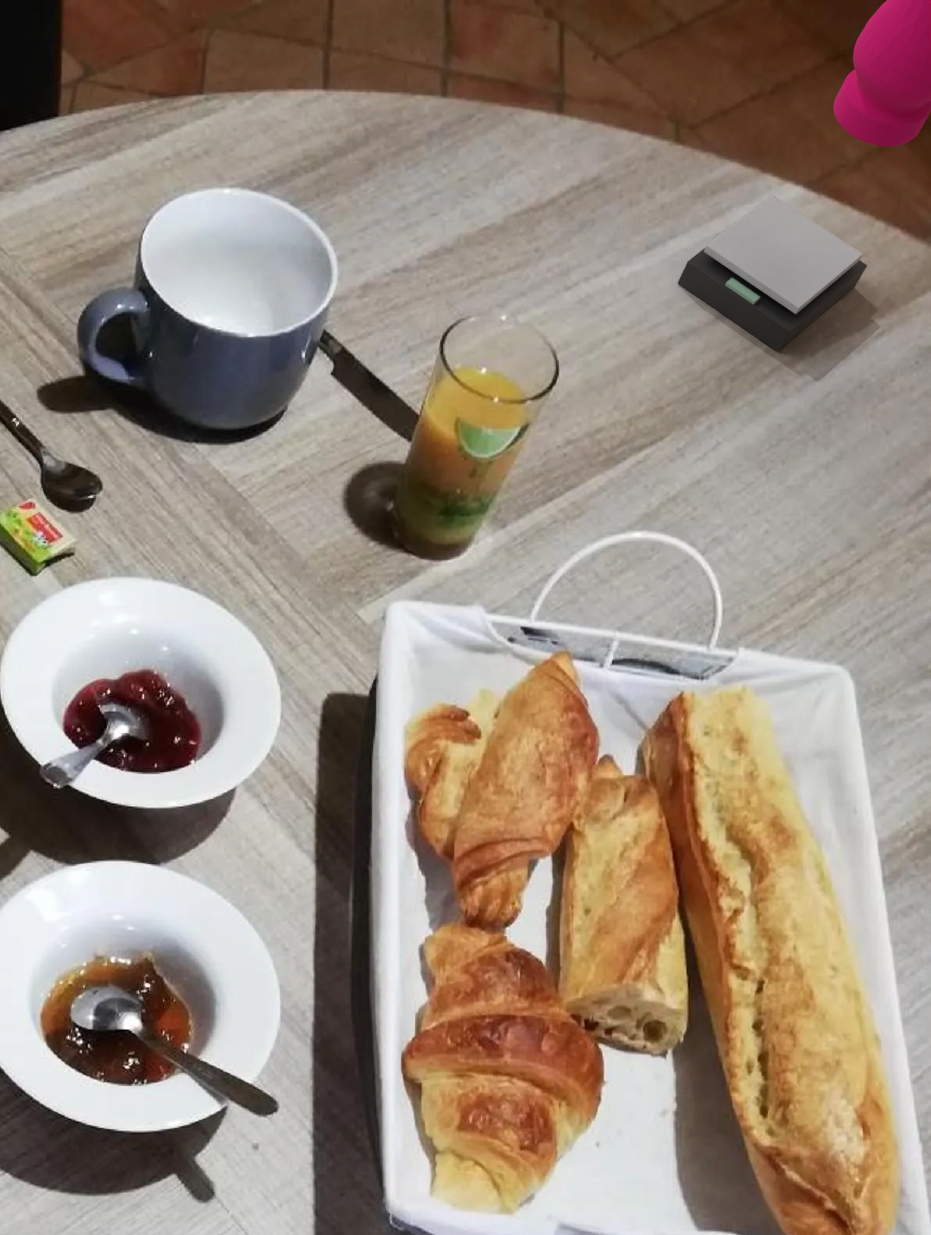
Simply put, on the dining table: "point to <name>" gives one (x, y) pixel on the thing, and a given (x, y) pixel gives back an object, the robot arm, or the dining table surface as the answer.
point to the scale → (773, 272)
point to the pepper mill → (889, 76)
